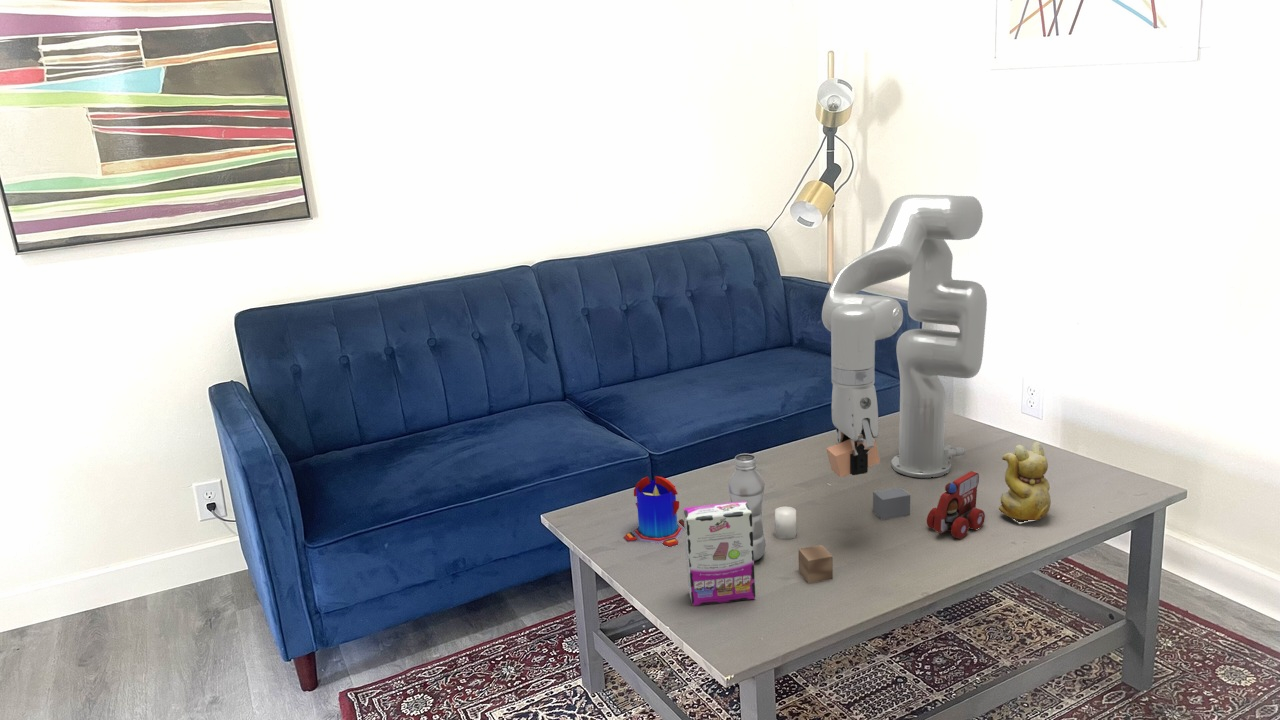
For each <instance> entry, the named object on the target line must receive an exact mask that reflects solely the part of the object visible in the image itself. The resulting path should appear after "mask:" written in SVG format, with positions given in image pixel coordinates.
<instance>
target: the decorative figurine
mask: <svg viewBox="0 0 1280 720" xmlns="http://www.w3.org/2000/svg"><path fill="white" fill-rule="evenodd" d="M1001 460H1003V461H1006V463H1007V469H1006V471H1005V475H1004V480H1005V484H1006V486H1007V487H1008V488H1009V489H1008V491H1004V492H1003V493H1002V494H1001V495H1000V504H1001V505H1000V506H998V510H999V511H1000V512H1001V513H1002V514H1004V515H1005V516H1007V517H1009V518H1010V517H1011V518H1010V519H1012V518H1013V519H1015V520H1016V521H1018V522H1024V521H1028V520H1038V521H1041V518H1044V517H1046V516H1047V514H1048V513H1049V511H1050V508H1051V503H1052V502H1051V494H1050V492H1049V491H1050V483H1049V481H1048V479H1047V478H1046V477H1045V474H1046V473H1047V471H1048V468H1049V462H1048V460H1047V457H1045V449H1044V448H1043V446H1042V443H1040V442H1039V441H1034V442H1033V443H1032V445H1031V450H1028V449H1026V447H1025V446H1023V445H1022V444H1016V445H1015V449H1014V453H1013V452H1006V453H1004V454H1003V455H1002V456H1001Z"/></svg>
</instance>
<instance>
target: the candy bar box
mask: <svg viewBox="0 0 1280 720" xmlns="http://www.w3.org/2000/svg"><path fill="white" fill-rule="evenodd" d="M682 509H683V512H682V513H683V514H682V515H683V519H684V527H685V528H684V540H685V554H686V555H685V557H686V558H685V559H686V571H687V575H686V576H687V587H688V593H689V594H688V595H689V598H690V602H691V605H692V606H694V607H696V606H708V605H713V604H723V603H731V602H732V603H733V602H737V601H747V600H754V599H756V579H755V578H756V577H755V575H756V574H755V561H754V554H753V530H752V512H751V510H750V509H749V507H748V505H747V502H746V501H741V502H732V503H731V502H724V503H715V504H705V505H697V506H688V507H683V508H682Z"/></svg>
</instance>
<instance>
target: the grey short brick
mask: <svg viewBox="0 0 1280 720" xmlns="http://www.w3.org/2000/svg"><path fill="white" fill-rule="evenodd" d="M872 512H873V514H875V515H876V516H877V517H878V518H879V519H880V520H882V521H884V520H890V519H891V518H892V519H896V518H902V516H903V517H908V515H909V516H910V515H911V494H909V492H907V491H906V490H905V489H904V488H902V487H893V488H887V489H886V488H885V489H882V490H881V489H880V490H876V491H872ZM892 519H891V520H892Z"/></svg>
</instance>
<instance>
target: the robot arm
mask: <svg viewBox="0 0 1280 720" xmlns="http://www.w3.org/2000/svg"><path fill="white" fill-rule="evenodd" d="M983 214H984V213H983V208H982V205H981V202H980V201H979V200H978V198H976V197H975V196H972V195H954V194H953V195H951V194H907V195H906V194H905V195H902V196H898V197H897V198H895V200H893V201H892V202H891V204H890V206H889V207H888V210H887V212H886V215H885V217H884V220H883V222H882V224H881V226H880V228H879V231H878V233H877V236H876V237H875V240H874V243H873V246H872V248H871V249H870V250H868V251H866V252H864V253H862V254H861V255H859V256H857V257H856V258H854V259H853V260H852V261H850V262H849V263H848V264H846V265H845V266H844V267H842V268H841V269H840V271H839V272H838V273H837V274H836V275H835V277H834V278H833V280H832V283H831V285H830V287H829V289H828V291H827V293H826V296H825V297H824V298H825V299H824V302H823V304H822V310H821V321H822V324H823V326H824V328H825V329H827V331H829V332H830V336H831V337H830V339H831V341H830V347H831V350H830V351H831V354H830V356H831V358H830V359H831V370H830V371H831V384H832V392H831V420H832V421H831V422H832V425H833V427H835V429H836V432H837V444H839V443H841V442H844V441H846V440H849V439H851V443H852V453H853V454H850V473H851V474H850V475H852V476H858V475H863V474H867V473H868V471H869V467H868V454H869V450H870V449H871V448H873V447H874V442H873V439H877V438H878V436H879V430H880V429H879V409H878V399H877V391H876V387H875V385H874V384H875V382H876V379H875V377H876V376H875V375H876V374H875V373H876V372H875V371H876V369H875V368H876V367H875V365H876V361H875V360H876V359H875V357H876V356H875V355H876V341H879V340H883V339H888V338H890V337H892V336H893V335H895V334H896V333H897V331H898V330H899V329H900V328H901V326H902V324H903V320H904V311H903V307H902V305H901V304H900V302H899V301H898V300H897V299H895V298H893V297H890V296H883V295H870V294H860V293H859V292H861V291H863V290H865V289H866V288H868V287H870V286H874V285H877V284H881V283H885V282H888V281H891V280H895V279H897V278H900V277H903V276H905V275H907V274H909V277H908V278H909V279H908V290H907V291H908V293H907V313H908V316H909V317H910V318H911V319H912V320H913V321H916V322H920V323H926V324H933V325H934V324H935V325H936V324H937V325H944V326H945V325H947V326H956V327H957V328H958V330H959V331H957V332H956V331H948V330H947V331H946V330H938V329H930V328H929V329H928V328H913V329H908V330H906V331H904V332H903V333H902V334H901V335H899V337H898V340H897V342H896V346H895V347H896V351H895V352H896V359H897V365H898V370H899V371H898V372H899V392H900V393H899V396H900V397H899V430H898V433H899V434H898V435H899V436H898V437H899V439H898V440H899V441H898V454H897V455H895V456H894V457H893V458H892V459H891V468H892V469H893V470H894V471H896V472H897V473H898V474H900V475H903V476H907V477H911V478H919V479H930V478H931V477H933V478H937V477H938V476H939V477H942V476H944V474H945V475H947V474H948V473H950V471H951V468H952V467H951V466H952V464H951V461H950V459H952V457H953V458H954V457H956V458H957V457H959V456H960V457H961V456H963V455H964V454H965V451H964V448H963V447H962V446H959V447H958V446H957V447H952V445H951V444H948V445H945V430H946V429H945V427H946V426H945V423H946V402H947V399H946V398H947V397H946V395H947V394H946V390H945V386H944V385H943V383H942V381H941V379H940V378H939V376H940V377H949V378H957V379H972V378H974V377H976V375H978V374H979V372H980V370H981V368H982V363H983V357H984V346H985V343H984V342H985V332H986V324H987V323H986V321H987V310H988V308H987V307H988V299H987V294H986V290H985V288H984V287H983V285H982V284H980V283H979V282H977V281H973V280H965V279H964V280H962V279H961V280H959V279H953V278H952V274H953V273H952V272H953V271H952V270H953V260H954V259H953V253H952V250H951V248H950V247H949V244H947V242H946V241H948V240H949V241H951V240H952V241H962V240H963V241H964V240H969V239H973V237H975V235H977V233H978V232H979V230H980V229H981V226H982V223H983V216H984V215H983ZM859 435H862V436H861V437H858V436H859ZM859 441H863V443H862V444H859V446H858V447H857V442H859ZM947 472H948V473H947ZM946 473H947V474H946Z"/></svg>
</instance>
